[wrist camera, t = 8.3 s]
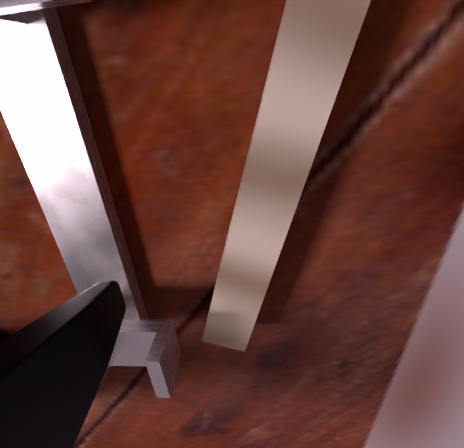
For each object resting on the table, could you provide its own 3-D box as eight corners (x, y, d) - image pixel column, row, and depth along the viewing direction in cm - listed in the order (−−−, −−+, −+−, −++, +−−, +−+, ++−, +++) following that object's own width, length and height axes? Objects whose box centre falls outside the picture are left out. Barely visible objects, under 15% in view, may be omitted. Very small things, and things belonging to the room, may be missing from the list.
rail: (247, 318, 23) (244, 351, 21) (208, 310, 23) (201, 341, 21) (393, -113, 12) (429, -164, 9) (319, -133, 12) (334, -189, 9)
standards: (195, 324, 24) (139, 536, 13) (103, 324, 25) (-20, 521, 14) (107, -101, 13) (-681, -923, 2) (-53, -70, 14) (-1130, -522, 3)
